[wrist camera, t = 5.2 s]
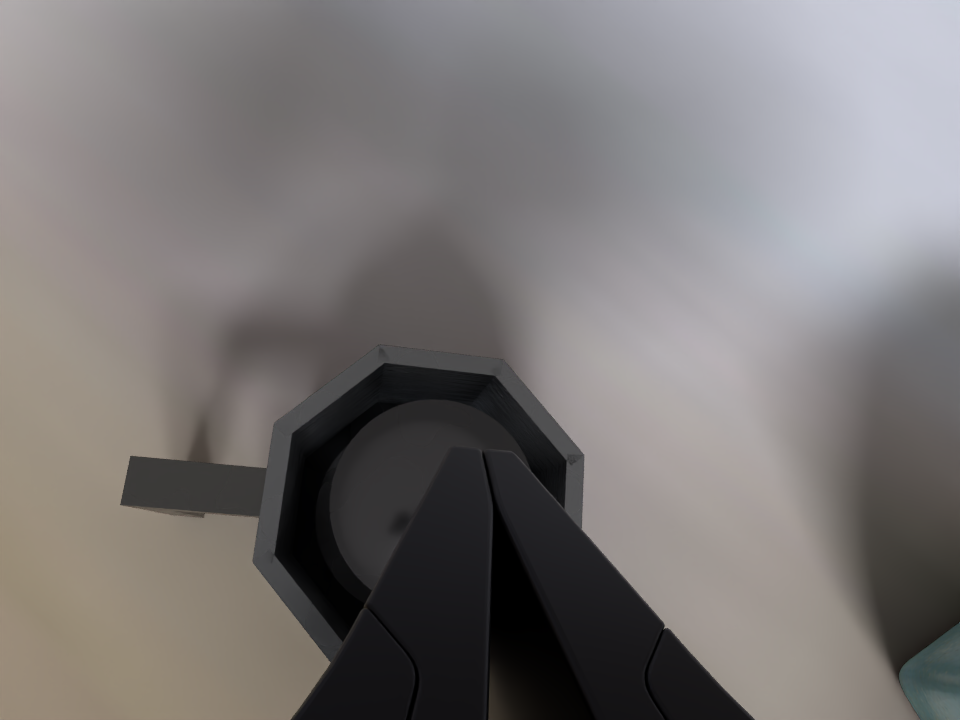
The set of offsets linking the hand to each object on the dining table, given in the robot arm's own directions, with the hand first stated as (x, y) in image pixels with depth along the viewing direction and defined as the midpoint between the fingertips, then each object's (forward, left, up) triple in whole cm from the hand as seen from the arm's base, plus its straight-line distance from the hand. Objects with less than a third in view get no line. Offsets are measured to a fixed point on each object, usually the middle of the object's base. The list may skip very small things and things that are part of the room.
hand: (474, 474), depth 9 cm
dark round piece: (0, 0, -10) cm, 10 cm away
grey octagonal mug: (0, +1, -11) cm, 11 cm away
